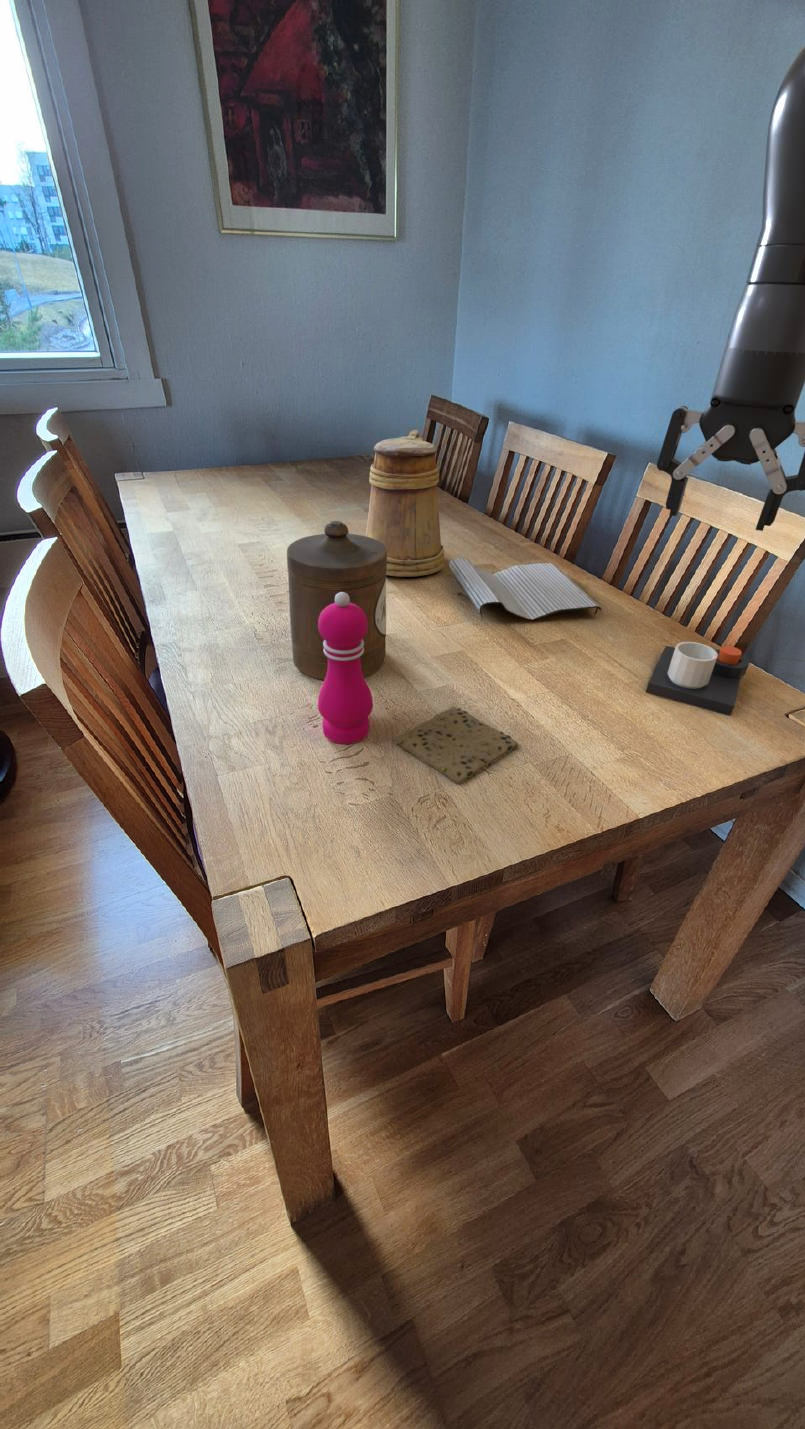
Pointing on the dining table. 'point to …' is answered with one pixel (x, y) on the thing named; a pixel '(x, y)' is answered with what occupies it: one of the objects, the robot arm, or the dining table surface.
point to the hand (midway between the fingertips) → (715, 521)
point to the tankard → (406, 505)
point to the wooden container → (323, 574)
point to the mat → (521, 589)
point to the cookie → (456, 744)
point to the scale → (711, 696)
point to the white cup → (692, 664)
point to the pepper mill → (344, 672)
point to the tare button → (729, 655)
